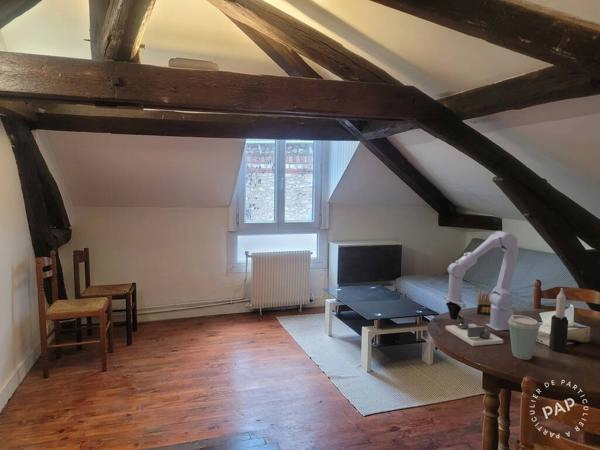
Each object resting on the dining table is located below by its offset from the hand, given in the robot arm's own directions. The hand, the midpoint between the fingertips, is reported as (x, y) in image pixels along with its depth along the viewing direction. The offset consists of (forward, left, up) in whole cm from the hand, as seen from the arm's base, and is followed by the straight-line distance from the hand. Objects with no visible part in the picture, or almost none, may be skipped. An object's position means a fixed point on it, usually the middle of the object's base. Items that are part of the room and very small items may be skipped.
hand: (453, 318), depth 189 cm
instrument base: (-2, +11, -4) cm, 12 cm away
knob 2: (-1, +17, -2) cm, 17 cm away
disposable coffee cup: (-7, +34, -4) cm, 35 cm away
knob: (-2, +3, -2) cm, 4 cm away
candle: (-26, +31, -4) cm, 41 cm away
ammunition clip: (-28, -14, -4) cm, 32 cm away
